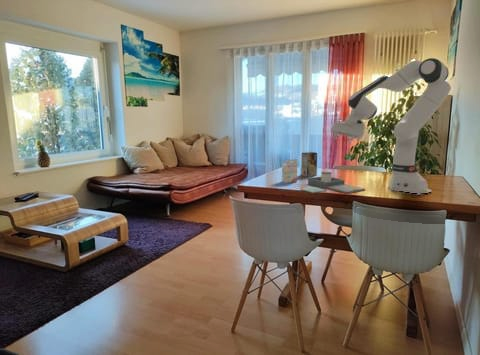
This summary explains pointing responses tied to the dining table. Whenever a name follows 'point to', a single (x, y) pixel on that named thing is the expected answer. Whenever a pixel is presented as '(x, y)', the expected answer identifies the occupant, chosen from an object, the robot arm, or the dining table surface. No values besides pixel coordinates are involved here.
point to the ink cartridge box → (289, 171)
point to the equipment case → (334, 185)
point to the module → (326, 176)
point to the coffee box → (309, 164)
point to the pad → (313, 189)
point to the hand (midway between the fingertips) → (341, 140)
